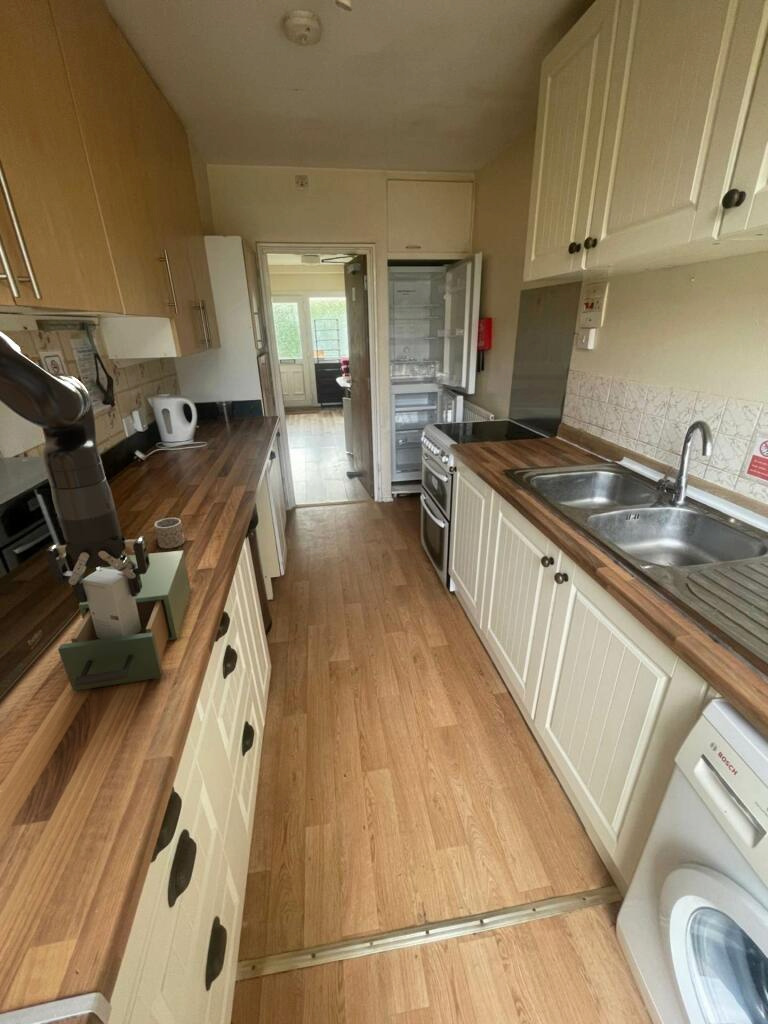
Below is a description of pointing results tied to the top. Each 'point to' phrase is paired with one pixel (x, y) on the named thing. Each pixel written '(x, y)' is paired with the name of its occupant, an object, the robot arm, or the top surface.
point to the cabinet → (163, 586)
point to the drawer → (117, 651)
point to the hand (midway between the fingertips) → (111, 596)
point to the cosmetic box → (111, 604)
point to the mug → (169, 532)
